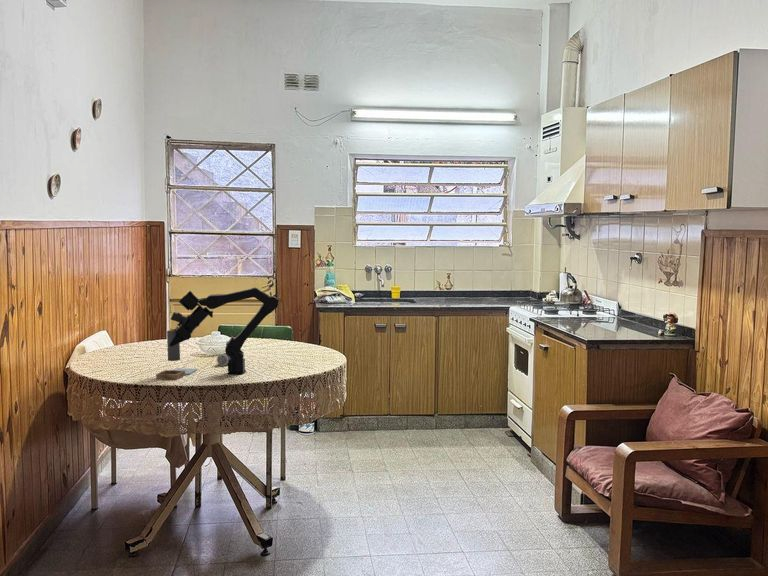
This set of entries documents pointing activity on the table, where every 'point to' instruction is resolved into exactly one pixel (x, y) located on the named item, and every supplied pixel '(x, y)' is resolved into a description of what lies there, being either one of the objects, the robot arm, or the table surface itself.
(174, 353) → the grey jar with lid
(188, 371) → the mat
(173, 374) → the brown square frame
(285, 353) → the table surface
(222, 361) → the flashlight
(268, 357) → the table surface
